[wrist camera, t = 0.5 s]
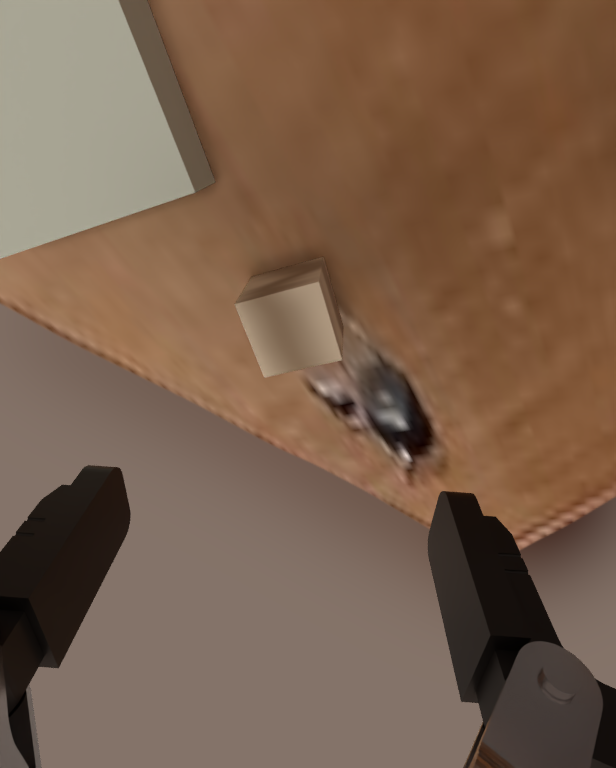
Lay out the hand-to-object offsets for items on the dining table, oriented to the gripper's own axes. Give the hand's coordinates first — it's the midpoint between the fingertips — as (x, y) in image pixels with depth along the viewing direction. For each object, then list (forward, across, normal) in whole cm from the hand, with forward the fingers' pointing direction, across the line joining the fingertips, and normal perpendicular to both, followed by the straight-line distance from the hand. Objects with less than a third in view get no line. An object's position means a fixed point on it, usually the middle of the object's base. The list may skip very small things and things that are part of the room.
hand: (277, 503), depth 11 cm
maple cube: (+20, +1, +2) cm, 21 cm away
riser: (+20, +14, -9) cm, 27 cm away
